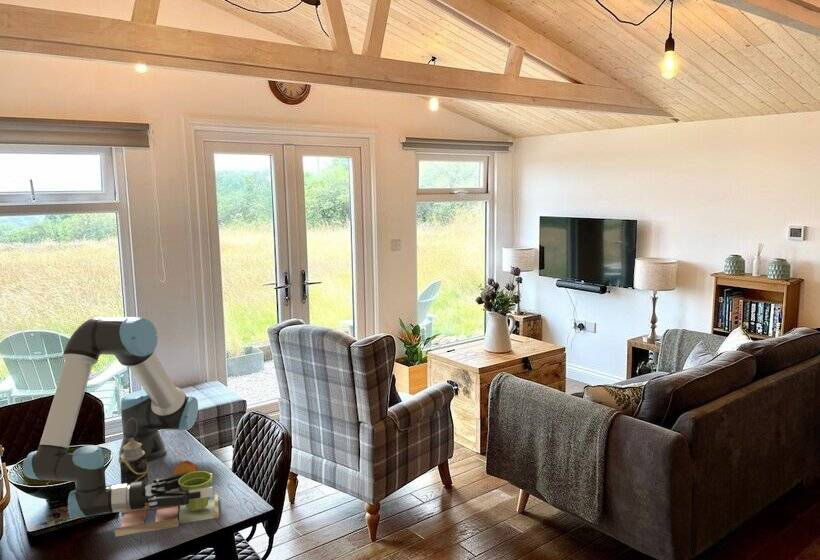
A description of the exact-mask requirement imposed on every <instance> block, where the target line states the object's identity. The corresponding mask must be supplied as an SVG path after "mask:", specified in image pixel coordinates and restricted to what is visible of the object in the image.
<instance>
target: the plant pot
mask: <svg viewBox="0 0 820 560" xmlns="http://www.w3.org/2000/svg"><path fill="white" fill-rule="evenodd" d="M211 473H212V472H208V471H205V470H203V471H202V470H201V471H199V470H198V471H197V472H191V473H188V474H186V475H184V476H182V477H181V478H180V479H179V481H178V483H179V485H180V486H181V488H180V489H181V492H188V493H189V490H192V489H198V488H205V487H210V485H211V483H210V481H211V479H212V477H213V474H212V475H211ZM208 500H209V497H205V498H199V499H192V500H189V504H186V507H187V509H188V510H198V509H203V508H205V507H206V506H207V505H208Z"/></svg>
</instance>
